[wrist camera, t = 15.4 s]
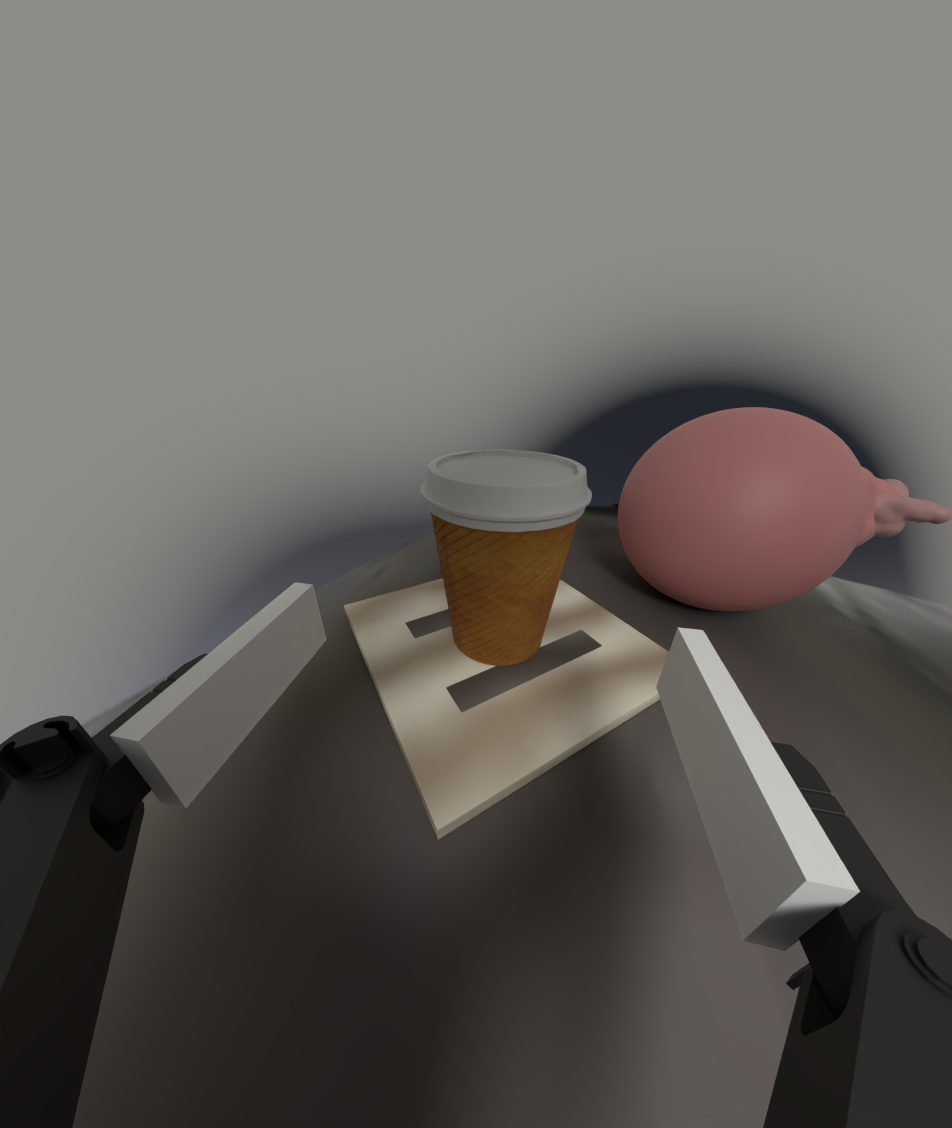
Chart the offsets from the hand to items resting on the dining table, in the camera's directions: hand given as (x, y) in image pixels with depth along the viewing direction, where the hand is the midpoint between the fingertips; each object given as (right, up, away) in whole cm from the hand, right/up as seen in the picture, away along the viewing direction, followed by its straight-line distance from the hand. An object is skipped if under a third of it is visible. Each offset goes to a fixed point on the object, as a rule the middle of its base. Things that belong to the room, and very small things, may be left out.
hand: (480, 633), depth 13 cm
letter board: (+2, -3, +13) cm, 13 cm away
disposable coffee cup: (+1, -3, +12) cm, 13 cm away
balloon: (+21, -1, +18) cm, 28 cm away
